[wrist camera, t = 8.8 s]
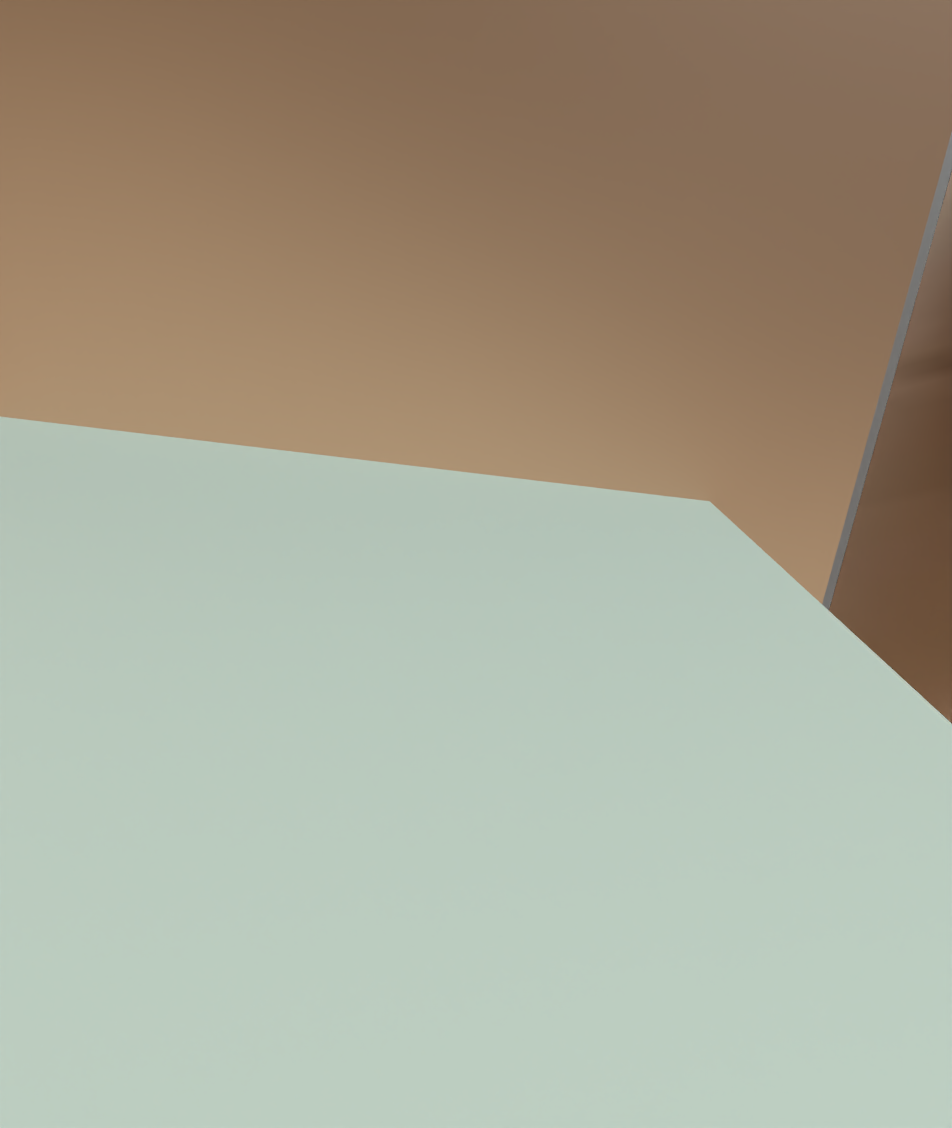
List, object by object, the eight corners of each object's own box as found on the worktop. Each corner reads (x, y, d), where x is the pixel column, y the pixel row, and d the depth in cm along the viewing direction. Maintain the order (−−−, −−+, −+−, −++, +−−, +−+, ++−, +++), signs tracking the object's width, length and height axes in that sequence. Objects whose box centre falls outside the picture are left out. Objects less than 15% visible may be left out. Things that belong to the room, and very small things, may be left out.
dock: (71, -159, 11) (-145, -399, 7) (865, -39, 12) (1064, -205, 8) (99, 916, 17) (-16, 1108, 13) (631, 968, 17) (677, 1169, 13)
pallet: (132, -256, 7) (-309, -952, 3) (794, -154, 7) (1174, -680, 3) (142, 1153, 12) (-15, 1565, 8) (525, 1187, 12) (548, 1603, 8)
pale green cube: (-16, 414, 4) (-2711, 1117, 1) (709, 501, 5) (1739, 1451, 1) (21, 991, 6) (-854, 2354, 2) (592, 1044, 6) (800, 2395, 2)
